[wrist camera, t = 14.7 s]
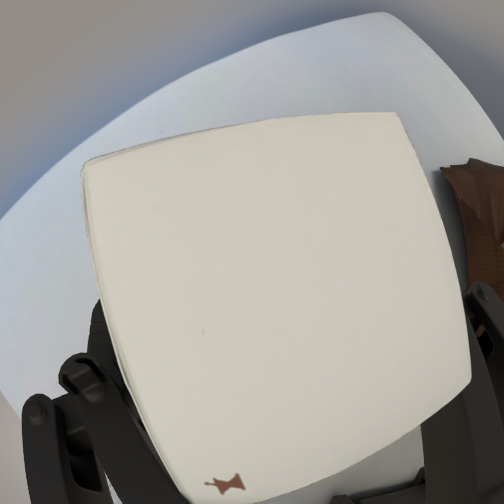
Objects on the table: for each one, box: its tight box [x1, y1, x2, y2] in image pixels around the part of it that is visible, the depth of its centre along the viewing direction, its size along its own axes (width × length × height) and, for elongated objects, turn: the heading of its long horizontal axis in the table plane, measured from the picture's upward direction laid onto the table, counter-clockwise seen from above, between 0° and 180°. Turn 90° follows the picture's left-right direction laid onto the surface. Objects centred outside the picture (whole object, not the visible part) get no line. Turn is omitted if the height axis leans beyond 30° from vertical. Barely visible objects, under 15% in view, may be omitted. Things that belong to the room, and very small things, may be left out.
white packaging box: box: [81, 112, 472, 504], centre depth 11 cm, size 7×7×13 cm
